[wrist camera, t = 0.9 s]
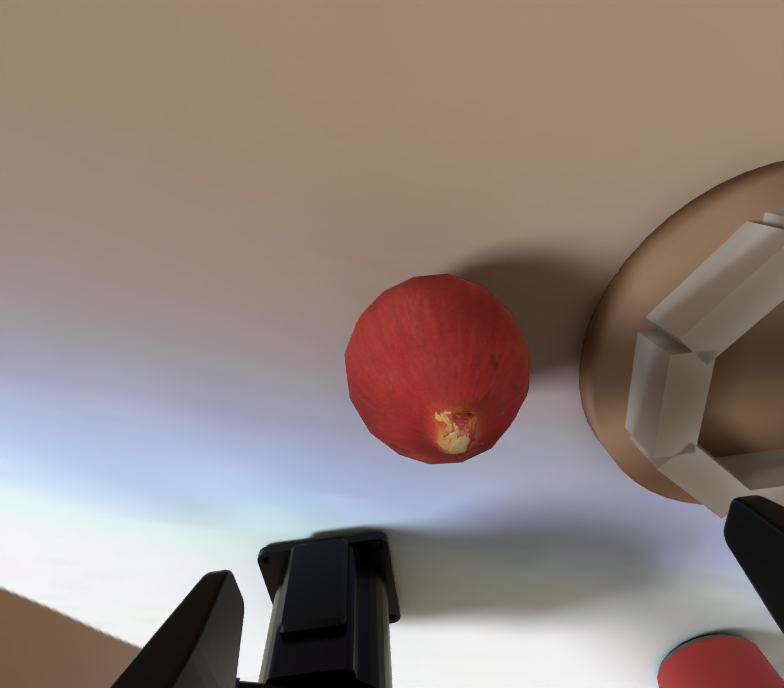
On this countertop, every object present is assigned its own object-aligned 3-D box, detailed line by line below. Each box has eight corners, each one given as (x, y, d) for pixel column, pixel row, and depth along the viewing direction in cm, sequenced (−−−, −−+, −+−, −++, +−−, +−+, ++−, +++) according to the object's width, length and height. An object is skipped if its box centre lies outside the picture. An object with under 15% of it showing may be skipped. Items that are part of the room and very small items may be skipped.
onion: (513, 351, 19) (609, 489, 11) (389, 407, 19) (404, 568, 12) (461, 224, 16) (539, 294, 9) (322, 293, 17) (292, 409, 10)
